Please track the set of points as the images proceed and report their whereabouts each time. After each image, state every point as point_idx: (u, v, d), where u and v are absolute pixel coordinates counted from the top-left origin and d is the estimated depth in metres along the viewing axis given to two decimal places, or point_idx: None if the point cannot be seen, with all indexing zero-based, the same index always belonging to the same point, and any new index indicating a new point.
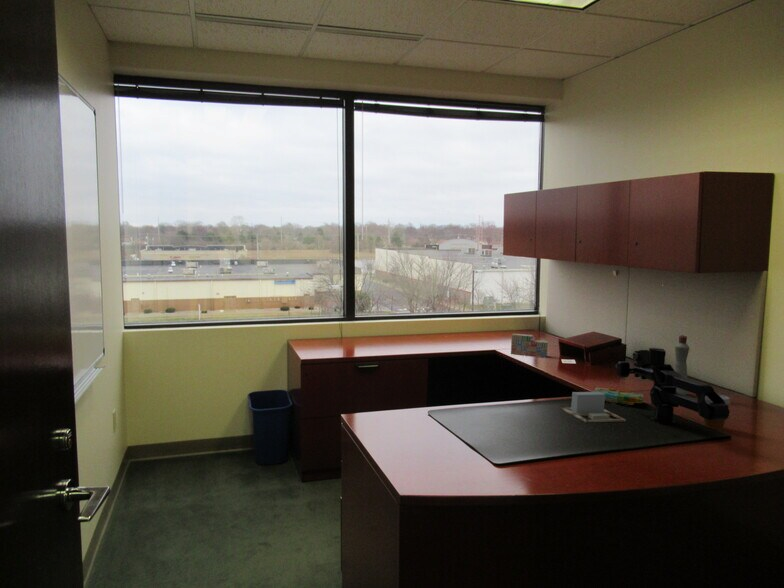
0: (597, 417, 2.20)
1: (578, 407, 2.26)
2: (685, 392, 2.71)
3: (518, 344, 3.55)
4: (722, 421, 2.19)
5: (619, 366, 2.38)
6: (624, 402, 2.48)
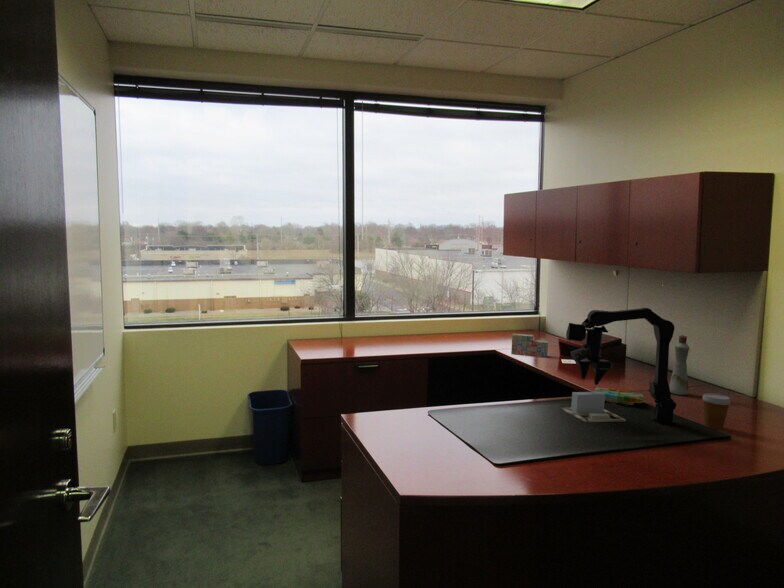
0: (597, 417, 2.20)
1: (578, 407, 2.26)
2: (685, 392, 2.71)
3: (518, 344, 3.55)
4: (722, 421, 2.19)
5: (602, 364, 2.19)
6: (624, 402, 2.48)
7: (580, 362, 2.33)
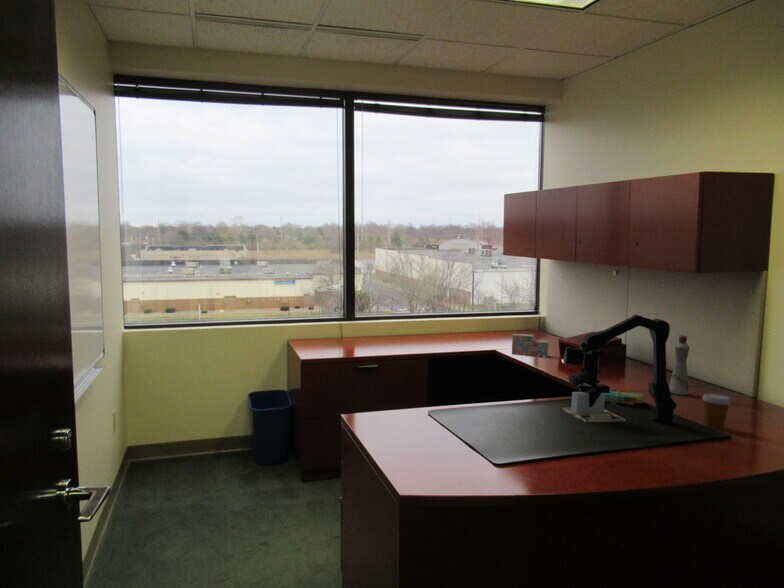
0: (598, 417, 2.19)
1: (577, 407, 2.26)
2: (685, 392, 2.71)
3: (519, 344, 3.55)
4: (722, 421, 2.19)
5: (600, 389, 2.19)
6: (624, 402, 2.48)
7: (581, 387, 2.31)
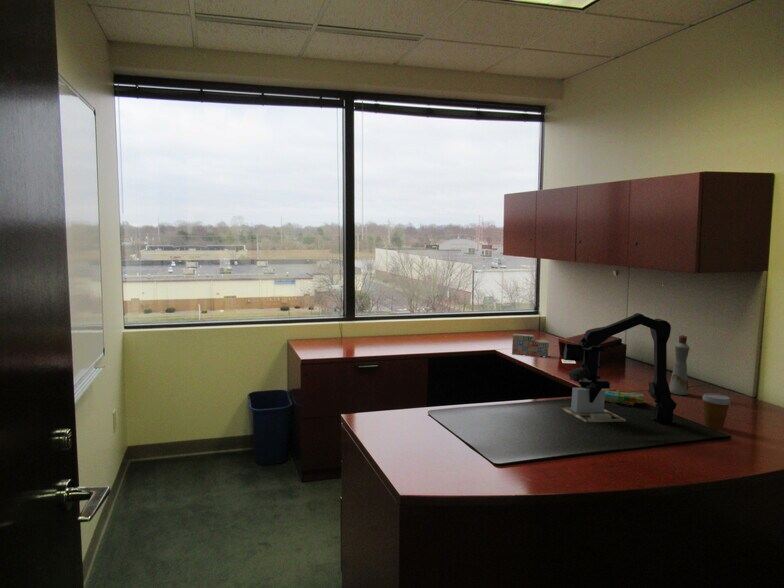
0: (598, 417, 2.19)
1: (578, 402, 2.26)
2: (685, 392, 2.71)
3: (519, 344, 3.54)
4: (722, 421, 2.19)
5: (600, 384, 2.19)
6: (624, 402, 2.48)
7: (581, 383, 2.31)
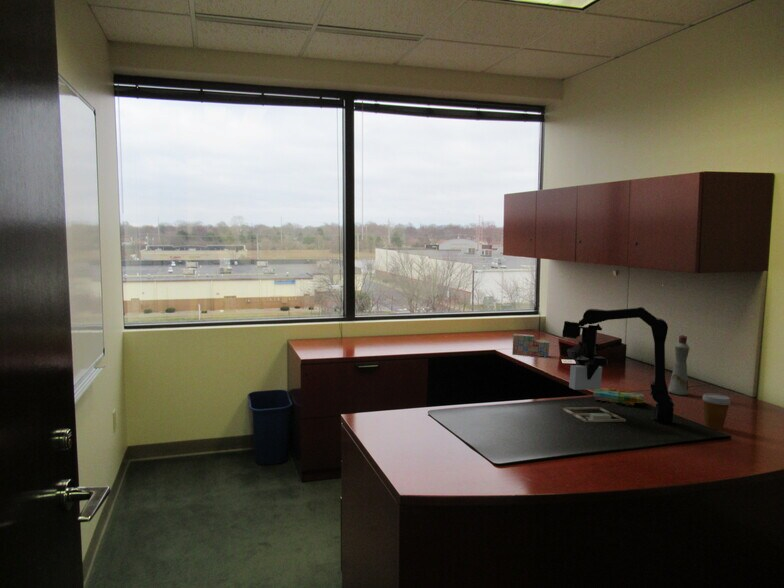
0: (598, 417, 2.19)
1: (576, 379, 2.33)
2: (685, 392, 2.71)
3: (519, 344, 3.54)
4: (722, 421, 2.19)
5: (598, 361, 2.26)
6: (625, 402, 2.48)
7: (579, 361, 2.38)
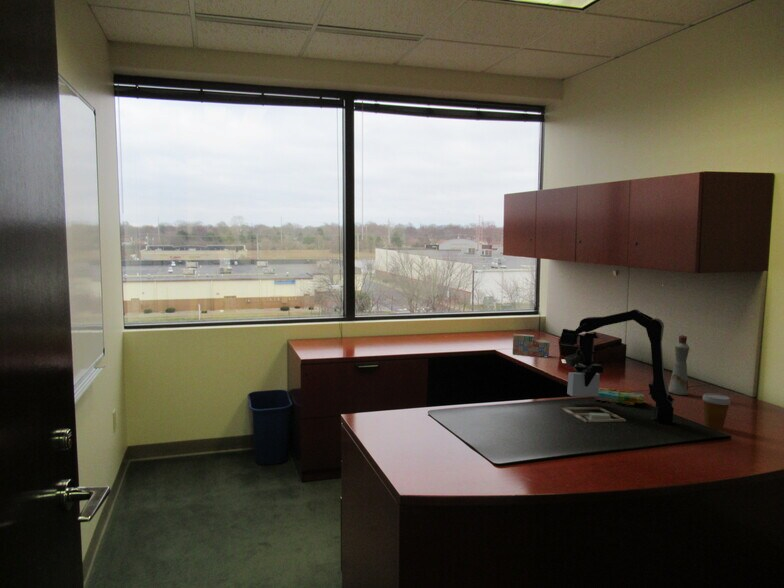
0: (596, 417, 2.20)
1: (574, 386, 2.38)
2: (685, 392, 2.71)
3: (520, 345, 3.54)
4: (722, 421, 2.19)
5: (595, 369, 2.31)
6: (625, 402, 2.48)
7: (577, 368, 2.43)
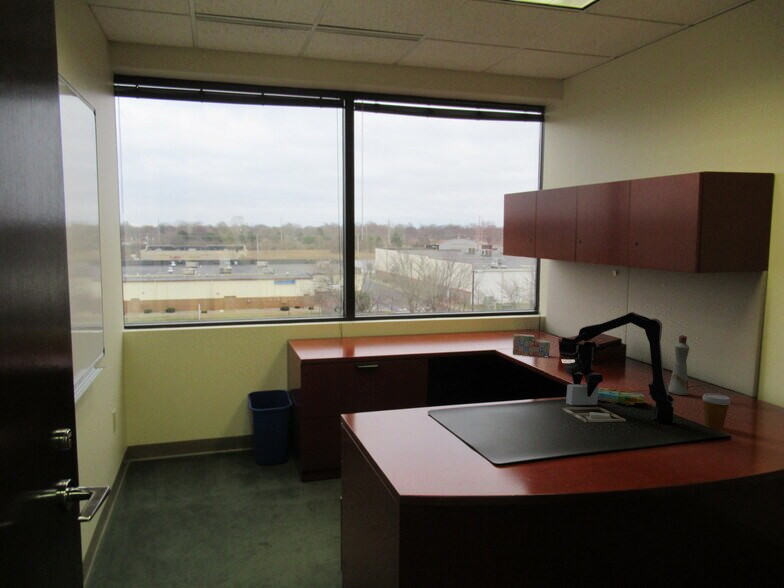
0: (596, 416, 2.20)
1: (572, 398, 2.39)
2: (685, 392, 2.71)
3: (520, 345, 3.53)
4: (722, 421, 2.19)
5: (594, 378, 2.32)
6: (625, 402, 2.48)
7: (573, 375, 2.46)
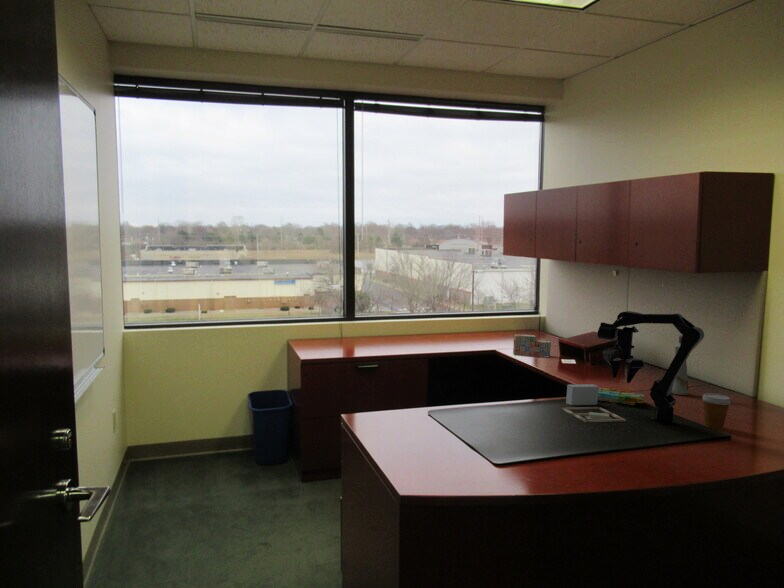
0: (595, 416, 2.21)
1: (572, 398, 2.39)
2: (685, 392, 2.71)
3: (521, 345, 3.53)
4: (722, 421, 2.19)
5: (634, 363, 2.26)
6: (625, 402, 2.48)
7: (611, 361, 2.40)
